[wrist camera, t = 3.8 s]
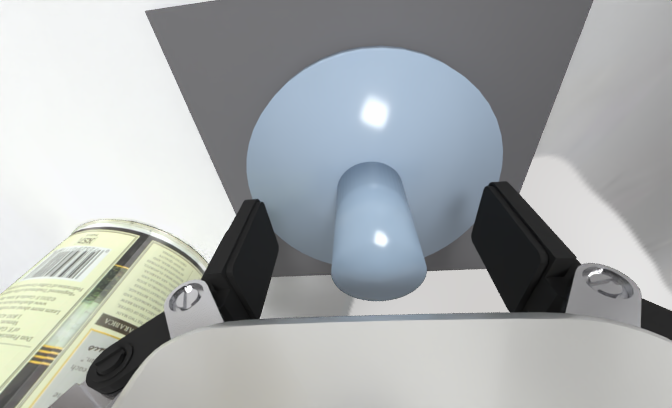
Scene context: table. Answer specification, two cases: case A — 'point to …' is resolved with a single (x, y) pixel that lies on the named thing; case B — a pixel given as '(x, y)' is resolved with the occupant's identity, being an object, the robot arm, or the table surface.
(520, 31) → the mat
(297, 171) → the lid
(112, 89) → the table surface
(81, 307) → the coffee can
